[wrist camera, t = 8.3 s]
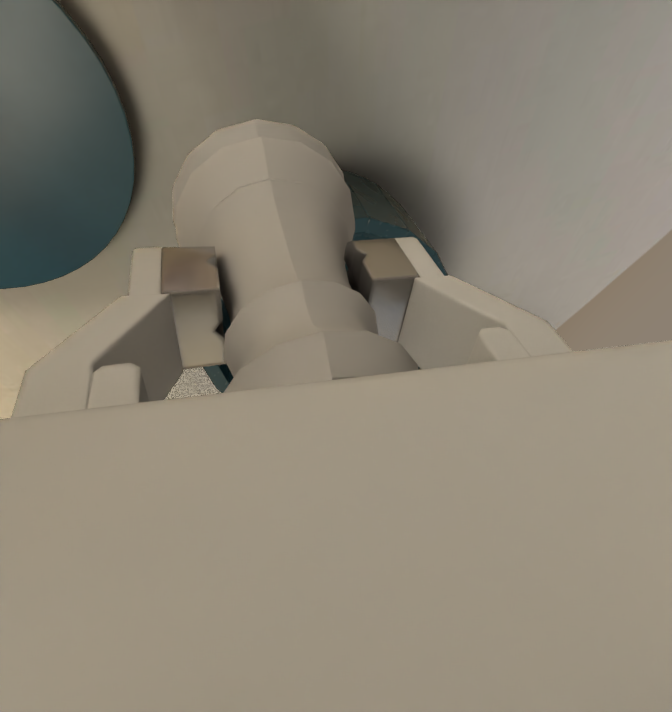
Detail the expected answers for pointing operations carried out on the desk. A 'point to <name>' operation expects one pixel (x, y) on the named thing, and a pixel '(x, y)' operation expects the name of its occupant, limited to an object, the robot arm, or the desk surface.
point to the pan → (372, 221)
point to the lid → (57, 146)
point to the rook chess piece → (281, 257)
